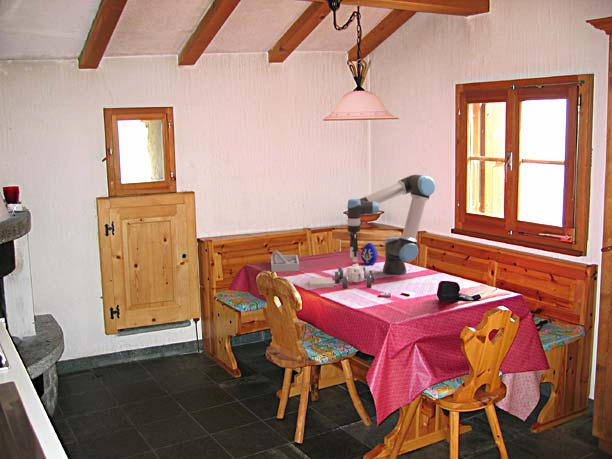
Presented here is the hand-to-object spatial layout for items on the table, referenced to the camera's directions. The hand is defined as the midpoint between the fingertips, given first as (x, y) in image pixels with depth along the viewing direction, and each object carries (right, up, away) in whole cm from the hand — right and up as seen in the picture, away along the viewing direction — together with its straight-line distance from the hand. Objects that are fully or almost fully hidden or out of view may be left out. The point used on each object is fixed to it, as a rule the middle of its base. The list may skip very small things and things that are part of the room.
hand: (353, 259), depth 420 cm
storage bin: (-43, -7, +52) cm, 68 cm away
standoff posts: (+1, -14, +2) cm, 14 cm away
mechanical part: (+1, -14, +2) cm, 15 cm away
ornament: (+15, -6, +54) cm, 56 cm away
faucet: (-45, -8, +51) cm, 68 cm away
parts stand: (-20, -15, -1) cm, 25 cm away
